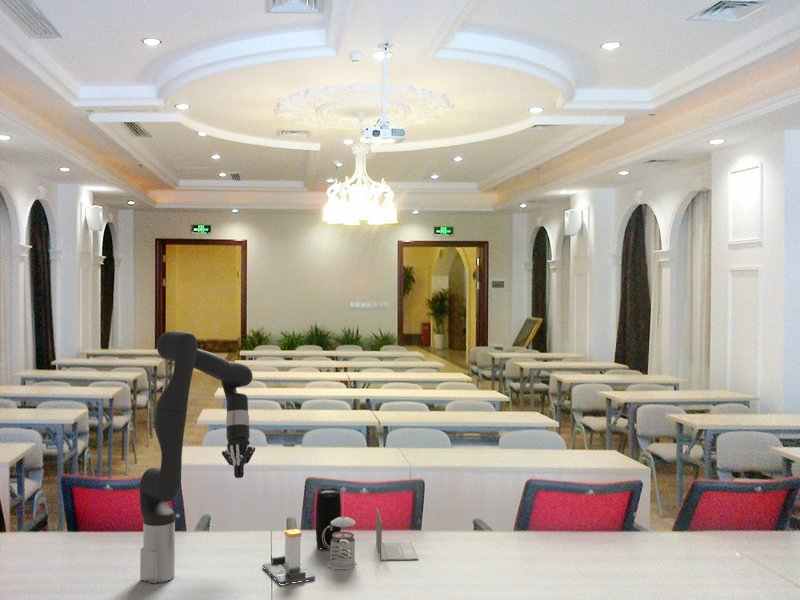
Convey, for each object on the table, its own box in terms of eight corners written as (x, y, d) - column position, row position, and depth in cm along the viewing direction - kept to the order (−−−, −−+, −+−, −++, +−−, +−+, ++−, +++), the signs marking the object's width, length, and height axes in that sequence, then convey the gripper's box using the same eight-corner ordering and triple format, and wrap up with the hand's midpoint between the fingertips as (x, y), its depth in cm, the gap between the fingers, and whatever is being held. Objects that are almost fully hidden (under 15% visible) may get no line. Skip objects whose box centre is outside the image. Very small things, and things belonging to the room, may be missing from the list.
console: (314, 580, 254) (314, 571, 253) (280, 585, 248) (280, 576, 248) (295, 562, 269) (295, 554, 269) (262, 567, 264) (262, 559, 264)
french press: (353, 571, 262) (354, 492, 261) (317, 568, 264) (318, 489, 263) (361, 561, 271) (362, 484, 271) (326, 558, 274) (327, 482, 273)
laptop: (418, 560, 273) (418, 521, 273) (379, 561, 272) (380, 522, 271) (411, 543, 291) (412, 506, 290) (375, 544, 289) (376, 507, 289)
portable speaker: (338, 541, 291) (339, 486, 290) (341, 550, 282) (342, 493, 281) (314, 542, 289) (315, 486, 289) (316, 551, 280) (317, 493, 279)
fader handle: (301, 574, 254) (301, 532, 254) (288, 576, 252) (289, 534, 252) (296, 569, 258) (296, 528, 258) (283, 571, 256) (284, 530, 256)
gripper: (215, 427, 278) (215, 479, 273) (245, 421, 272) (247, 474, 267) (230, 429, 284) (231, 480, 279) (260, 423, 278) (262, 475, 273)
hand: (239, 477), depth 273 cm, fingers closed
